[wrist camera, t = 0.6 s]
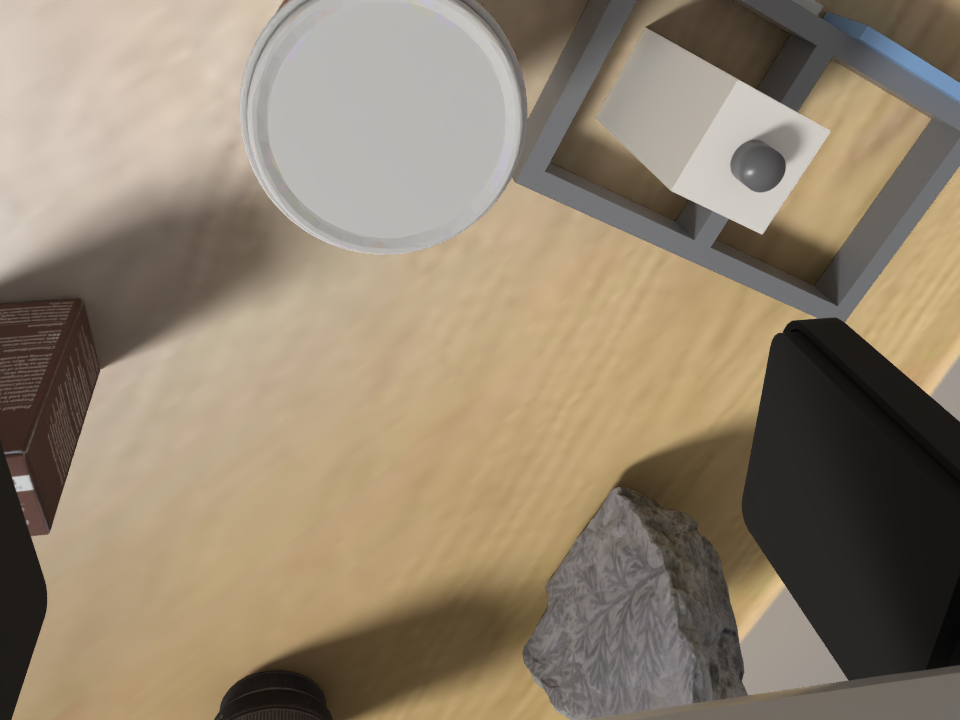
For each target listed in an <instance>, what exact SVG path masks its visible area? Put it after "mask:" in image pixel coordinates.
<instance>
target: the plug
mask: <svg viewBox="0 0 960 720" xmlns="http://www.w3.org/2000/svg"><path fill="white" fill-rule="evenodd" d="M596 119H597V120H598V121H599V122H600V123H601V124H602V125H603V126H604V127H605V128H606V129H607V130H608V131H609V132H610V133H611V134H612V135H613V136H614V137H615V138H616V139H617V140H618V141H620V142H621V143H622V144H623V145H624V146H625V147H626V148H627V149H628V150H629V151H630V152H631V153H632V154H633V155H634V156H635V157H636V158H637V159H638V160H639V161H640V162H641V163H642V164H643V165H644V166H645V167H647V168H648V169H649V170H650V171H651V172H652V173H653V174H654V175H655V176H656V177H657V178H658V179H659V180H660V181H661V182H662V183H663V184H664V185H665V186H666V187H667V188H668V189H669V190H670V191H672V192H674V193H676V194H678V195H680V196H682V197H685V198H687V199H689V200H691V201H693V202H695V203H697V204H699V205H701V206H703V207H705V208H707V209H710V210H712V211H714V212H716V213H718V214H720V215H722V216H724V217H726V218H728V219H730V220H732V221H735V222H737V223H739V224H741V225H743V226H745V227H747V228H749V229H751V230H753V231H755V232H758V233H760V234H763V233H764V231H765V230H766V228H767V227H768V225H769V224H770V222H771V221H772V219H773V218H774V216H775V215H776V213H777V212H778V210H779V209H780V207H781V206H782V204H783V203H784V201H785V200H786V198H787V197H788V195H789V194H790V192H791V191H792V189H793V188H794V186H795V185H796V183H797V182H798V180H799V179H800V177H801V176H802V174H803V173H804V171H805V170H806V168H807V167H808V165H809V164H810V162H811V161H812V159H813V158H814V156H815V154H816V153H817V151H818V150H819V148H820V147H821V145H822V144H823V142H824V141H825V139H826V138H827V136H828V135H829V133H830V132H831V131H830V130H828V129H826V128H824V127H823V126H821V125H819V124H817V123H815V122H814V121H812V120H810V119H808V118H807V117H805V116H803V115H801V114H799V113H798V112H796V111H794V110H792V109H791V108H789V107H787V106H785V105H784V104H782V103H780V102H778V101H776V100H775V99H773V98H771V97H769V96H768V95H766V94H764V93H762V92H760V91H759V90H757V89H755V88H753V87H752V86H750V85H748V84H746V83H744V82H743V81H741V80H739V79H737V78H736V77H734V76H732V75H730V74H728V73H727V72H725V71H723V70H721V69H720V68H718V67H716V66H714V65H712V64H711V63H709V62H707V61H705V60H703V59H702V58H700V57H698V56H696V55H694V54H693V53H691V52H689V51H687V50H685V49H684V48H682V47H680V46H678V45H676V44H675V43H673V42H671V41H669V40H667V39H666V38H664V37H662V36H660V35H658V34H657V33H655V32H653V31H651V30H649V29H648V28H646V27H645V29H644V31H643V32H642V34H641V36H640V38H639V40H638V42H637V43H636V45H635V47H634V49H633V51H632V52H631V54H630V56H629V58H628V60H627V62H626V63H625V65H624V67H623V69H622V71H621V73H620V74H619V76H618V78H617V80H616V82H615V83H614V85H613V87H612V89H611V91H610V93H609V94H608V96H607V98H606V100H605V102H604V104H603V105H602V107H601V109H600V111H599V113H598V115H597V116H596Z"/></svg>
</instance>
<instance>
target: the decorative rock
mask: <svg viewBox="0 0 960 720" xmlns="http://www.w3.org/2000/svg"><path fill="white" fill-rule="evenodd" d="M697 525H698V523H697V522H696V521H695V520H694V519H693V518H692V517H690V516H689V515H687V514H685V513H681V512H678V511H676V510H671V509H665V508H662V507H660V506H659V505H658V504H657V502H656V501H654V500H653V499H651V498H648V497H645V496H644V495H642V494H640V493H638V492H637V491H635V490H630V489H628V488H626V487H616V488H614V489H612V490H611V492H610V493H609V495H608V497H607V498H606V499H605V501H604V503H603V504H602V506H601V508H600V509H599V511H598V512H597V514H596V515H595V517H594V518H593V519H592V520H591V521H590V523H589V525H588V526H587V528H586V529H585V530H584V531H583V532H582V533H581V534H580V536H579V537H578V538H577V539H576V541H575V543H574V544H573V546H572V547H571V550H570V552H569V554H568V555H567V556H566V557H565V559H564V560H563V561H562V563H561V565H560V566H559V568H558V569H557V571H556V572H555V574H554V575H553V576H552V578H551V579H550V580H549V581H548V583H547V585H546V591H547V594H548V597H549V599H548V609H547V611H546V612H545V614H544V616H543V617H542V618H541V620H540V621H539V623H538V625H537V627H536V629H535V631H534V633H533V635H532V636H531V638H530V639H529V641H528V642H527V643H526V645H525V646H524V650H523V659H524V664H525V665H526V667H527V668H528V669H529V670H530V672H531V674H532V677H533V678H534V681H535V682H536V683H537V685H538V686H539V687H541V688H543V689H544V690H545V692H546V693H547V695H548V696H549V699H550V702H551V704H552V705H553V707H554V709H555V710H556V711H557V712H558V713H560V714H563V715H565V716H566V717H567V718H569V719H570V720H587V719H593V718H600V717H607V716H613V715H620V714H626V713H633V712H639V711H646V710H653V709H659V708H666V707H673V706H680V705H686V704H693V703H700V702H707V701H714V700H720V699H727V698H734V697H741V696H748V695H747V692H746V690H745V687H744V685H743V683H742V678H743V674H744V665H743V658H742V655H741V649H740V644H739V637H738V630H737V625H736V621H735V617H734V613H733V610H732V607H731V603H730V598H729V592H728V587H727V584H726V581H725V578H724V575H723V571H722V568H721V561H720V558H719V555H718V553H717V551H716V550H715V548H714V547H713V546H712V544H711V543H710V542H709V541H708V540H707V539H706V538H704V537H702V536H701V534H700V533H699V532H698V531H697Z"/></svg>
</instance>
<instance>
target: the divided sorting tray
mask: <svg viewBox="0 0 960 720" xmlns="http://www.w3.org/2000/svg"><path fill="white" fill-rule="evenodd" d="M636 1H637V0H589V2H588V4H587V6H586V8H585V10H584V12H583V14H582V16H581V18H580V19H579V21H578V23H577V25H576V27H575V29H574V31H573V33H572V35H571V37H570V39H569V41H568V43H567V45H566V47H565V49H564V50H563V52H562V54H561V56H560V58H559V60H558V62H557V64H556V66H555V68H554V70H553V72H552V74H551V76H550V78H549V80H548V81H547V83H546V85H545V87H544V89H543V91H542V93H541V95H540V97H539V99H538V101H537V103H536V105H535V107H534V109H533V111H532V112H531V114H530V116H529V118H528V120H527V127H526V136H525V140H524V145H523V150H522V153H521V156H520V159H519V162H518V165H517V167H516V169H515V171H514V174H513V176H512V178H513V180H514V181H515V183H518V184H520V185H522V186H524V187H526V188H529V189H531V190H533V191H535V192H538V193H540V194H542V195H544V196H547V197H549V198H551V199H553V200H555V201H558V202H560V203H562V204H564V205H567V206H569V207H571V208H573V209H576V210H578V211H580V212H582V213H584V214H587V215H589V216H591V217H593V218H596V219H598V220H600V221H602V222H605V223H607V224H609V225H611V226H613V227H616V228H618V229H620V230H622V231H625V232H627V233H629V234H631V235H634V236H636V237H638V238H640V239H642V240H645V241H647V242H649V243H651V244H654V245H656V246H658V247H660V248H663V249H665V250H667V251H669V252H671V253H674V254H676V255H678V256H680V257H683V258H685V259H687V260H689V261H692V262H694V263H696V264H698V265H700V266H703V267H705V268H707V269H709V270H712V271H714V272H716V273H718V274H721V275H723V276H725V277H727V278H729V279H732V280H734V281H736V282H738V283H741V284H743V285H745V286H747V287H750V288H752V289H754V290H756V291H758V292H761V293H763V294H765V295H767V296H770V297H772V298H774V299H776V300H779V301H781V302H783V303H785V304H787V305H790V306H792V307H794V308H796V309H799V310H801V311H803V312H805V313H808V314H810V315H812V316H814V317H816V318H819V319H820V318H835V317H837V318H838V319H840V320H842V321H843V322H844V323H845V321H846V320H847V319H848V317H849V316H850V314H851V313H852V312H853V310H854V309H855V308H856V306H857V305H858V304H859V302H860V301H861V299H862V298H863V297H864V295H865V294H866V293H867V291H868V290H869V289H870V287H871V286H872V284H873V283H874V282H875V280H876V279H877V278H878V276H879V275H880V274H881V272H882V271H883V270H884V268H885V267H886V265H887V264H888V263H889V261H890V260H891V259H892V257H893V256H894V255H895V253H896V252H897V250H898V249H899V248H900V246H901V245H902V244H903V242H904V241H905V240H906V238H907V237H908V235H909V234H910V233H911V231H912V230H913V229H914V227H915V226H916V225H917V223H918V222H919V221H920V219H921V218H922V216H923V215H924V214H925V212H926V211H927V210H928V208H929V207H930V206H931V204H932V203H933V201H934V200H935V199H936V197H937V196H938V195H939V193H940V192H941V191H942V189H943V188H944V187H945V185H946V184H947V182H948V181H949V180H950V178H951V177H952V176H953V174H954V173H955V172H956V170H957V169H958V167H959V166H960V83H959V82H957V81H956V80H954V79H953V78H951V77H949V76H948V75H946V74H945V73H943V72H941V71H940V70H938V69H937V68H935V67H933V66H932V65H930V64H929V63H927V62H925V61H924V60H922V59H921V58H919V57H917V56H916V55H914V54H913V53H911V52H910V51H908V50H906V49H905V48H903V47H902V46H900V45H898V44H897V43H895V42H894V41H892V40H890V39H889V38H887V37H886V36H884V35H882V34H881V33H879V32H878V31H876V30H874V29H873V28H871V27H870V26H868V25H865V24H862V23H859V22H856V21H853V20H850V19H848V18H845V17H842V16H839V15H836V14H833V13H830V12H826V14H825V15H824V17H823V18H820V17H818V15H819V13H820V11H821V10H822V8H823V5H822V4H820V3H818V2H817V1H815V0H733V1H735V2H737V3H738V4H740V5H742V6H743V7H745V8H747V9H748V10H750V11H752V12H753V13H755V14H757V15H758V16H760V17H762V18H763V19H765V20H767V21H768V22H770V23H772V24H774V25H775V26H777V27H779V28H780V29H782V30H784V31H785V32H787V33H789V34H790V36H789V38H788V39H787V41H786V43H785V44H784V46H783V48H782V49H781V51H780V52H779V54H778V56H777V57H776V59H775V61H774V62H773V64H772V65H771V67H770V69H769V70H768V72H767V74H766V75H765V77H764V78H763V80H762V82H761V83H760V85H759V87H758V88H757V90H759V91H760V92H762V93H764V94H766V95H768V96H769V97H771V98H773V99H775V100H776V101H778V102H780V103H782V104H784V105H785V106H787V107H789V108H791V109H792V110H794V111H796V112H798V110H799V109H800V107H801V106H802V104H803V102H804V101H805V99H806V98H807V96H808V95H809V93H810V92H811V90H812V88H813V87H814V85H815V84H816V82H817V81H818V79H819V77H820V76H821V74H822V73H823V71H824V70H825V68H826V67H827V65H828V63H829V62H830V60H831V59H832V60H834V61H836V62H837V63H839V64H841V65H842V66H844V67H846V68H847V69H849V70H851V71H852V72H854V73H856V74H858V75H859V76H861V77H863V78H864V79H866V80H868V81H869V82H871V83H873V84H874V85H876V86H878V87H879V88H881V89H883V90H884V91H886V92H888V93H889V94H891V95H893V96H894V97H896V98H898V99H900V100H901V101H903V102H905V103H906V104H908V105H910V106H911V107H913V108H915V109H916V110H918V111H920V112H921V113H923V114H925V115H926V116H928V117H930V118H931V119H932V120H931V121H930V123H929V124H928V125H927V127H926V128H925V130H924V131H923V133H922V134H921V135H920V137H919V138H918V140H917V141H916V142H915V144H914V145H913V147H912V148H911V150H910V151H909V152H908V154H907V155H906V157H905V158H904V160H903V161H902V162H901V164H900V165H899V167H898V168H897V169H896V171H895V172H894V174H893V175H892V177H891V178H890V179H889V181H888V182H887V184H886V185H885V186H884V188H883V189H882V191H881V192H880V194H879V195H878V196H877V198H876V199H875V201H874V202H873V203H872V205H871V206H870V208H869V209H868V211H867V212H866V213H865V215H864V216H863V218H862V219H861V220H860V222H859V223H858V225H857V226H856V228H855V229H854V230H853V232H852V233H851V235H850V236H849V237H848V239H847V240H846V242H845V243H844V245H843V246H842V247H841V249H840V250H839V252H838V253H837V254H836V256H835V257H834V259H833V260H832V262H831V263H830V264H829V266H828V267H827V269H826V270H825V271H824V273H823V274H822V276H821V277H820V279H819V280H818V281H817V283H816V284H815V286H814V285H812V284H810V283H808V282H806V281H803V280H801V279H799V278H797V277H795V276H793V275H790V274H788V273H786V272H784V271H782V270H780V269H778V268H775V267H773V266H771V265H769V264H767V263H765V262H763V261H760V260H758V259H756V258H754V257H752V256H750V255H747V254H745V253H743V252H741V251H739V250H737V249H735V248H732V247H730V246H728V245H726V244H724V243H722V242H720V241H717V240H716V238H717V237H718V235H719V234H720V232H721V231H722V229H723V227H724V226H725V224H726V223H727V221H728V220H729V219H728V218H726V217H724V216H722V215H720V214H718V213H716V212H714V211H712V210H710V209H707V208H705V207H703V206H701V205H699V204H697V203H695V202H693V201H691V200H688V202H687V204H686V205H685V207H684V209H683V210H682V212H681V213H680V215H679V217H678V218H677V220H676V221H674V220H672V219H670V218H668V217H666V216H664V215H662V214H659V213H657V212H655V211H653V210H651V209H649V208H646V207H644V206H642V205H640V204H638V203H636V202H634V201H631V200H629V199H627V198H625V197H623V196H621V195H619V194H616V193H614V192H612V191H610V190H608V189H606V188H603V187H601V186H599V185H597V184H595V183H593V182H591V181H588V180H586V179H584V178H582V177H580V176H578V175H576V174H573V173H571V172H569V171H567V170H565V169H563V168H560V167H558V166H556V165H554V164H552V163H550V161H551V159H552V157H553V155H554V154H555V152H556V150H557V148H558V146H559V144H560V142H561V141H562V139H563V137H564V135H565V133H566V131H567V129H568V128H569V126H570V124H571V122H572V120H573V118H574V116H575V115H576V113H577V111H578V109H579V107H580V105H581V103H582V102H583V100H584V98H585V96H586V94H587V92H588V90H589V88H590V87H591V85H592V83H593V81H594V79H595V77H596V75H597V74H598V72H599V70H600V68H601V66H602V64H603V62H604V61H605V59H606V57H607V55H608V53H609V51H610V49H611V48H612V46H613V44H614V42H615V40H616V38H617V36H618V34H619V33H620V31H621V29H622V27H623V25H624V23H625V21H626V20H627V18H628V16H629V14H630V12H631V10H632V8H633V7H634V5H635V3H636Z"/></svg>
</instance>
